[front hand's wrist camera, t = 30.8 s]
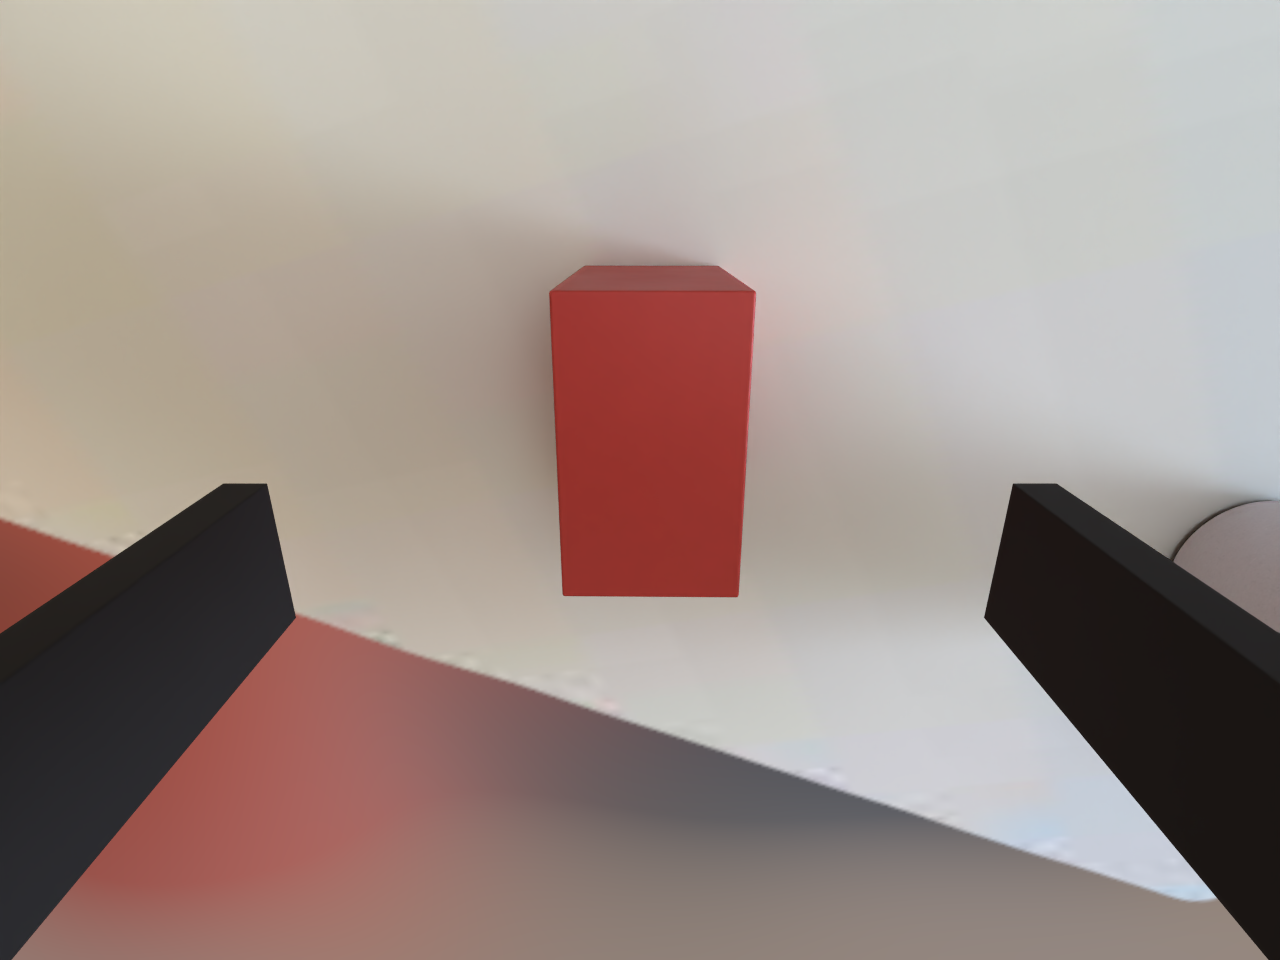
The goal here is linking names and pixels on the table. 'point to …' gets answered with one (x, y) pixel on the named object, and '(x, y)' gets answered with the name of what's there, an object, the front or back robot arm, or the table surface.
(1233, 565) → the coffee cup
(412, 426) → the table surface
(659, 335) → the brick
